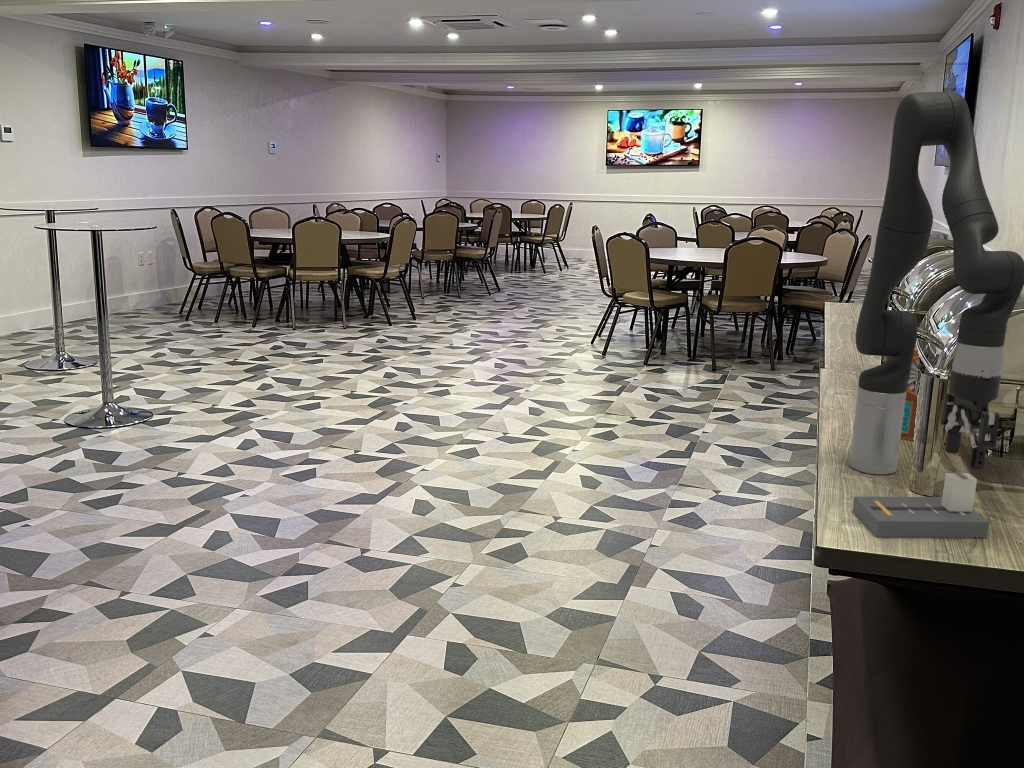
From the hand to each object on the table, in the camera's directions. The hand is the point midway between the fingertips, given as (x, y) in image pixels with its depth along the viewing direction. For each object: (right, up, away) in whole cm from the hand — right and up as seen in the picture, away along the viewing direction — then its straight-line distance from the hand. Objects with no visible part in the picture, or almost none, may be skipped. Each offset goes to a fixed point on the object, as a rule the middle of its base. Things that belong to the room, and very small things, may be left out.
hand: (963, 460), depth 153 cm
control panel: (+15, +1, +51) cm, 53 cm away
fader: (0, -9, +3) cm, 9 cm away
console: (-6, -12, +3) cm, 14 cm away
